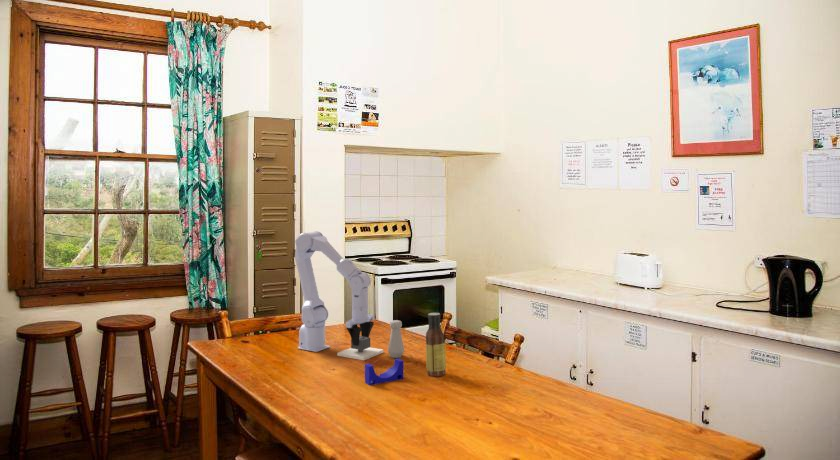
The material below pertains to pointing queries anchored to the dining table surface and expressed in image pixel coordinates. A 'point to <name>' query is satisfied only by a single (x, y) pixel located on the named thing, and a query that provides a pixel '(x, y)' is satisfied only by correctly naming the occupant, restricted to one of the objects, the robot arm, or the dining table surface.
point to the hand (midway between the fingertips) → (360, 343)
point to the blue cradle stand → (387, 376)
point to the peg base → (360, 353)
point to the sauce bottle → (435, 347)
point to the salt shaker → (396, 340)
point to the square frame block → (362, 343)
